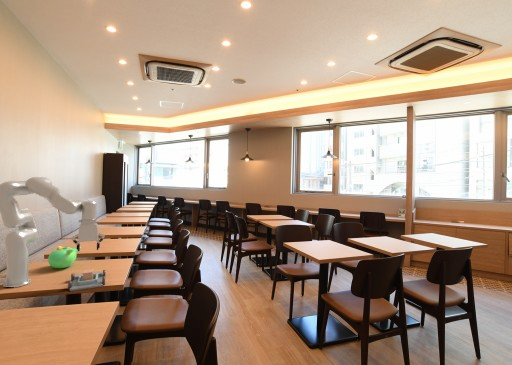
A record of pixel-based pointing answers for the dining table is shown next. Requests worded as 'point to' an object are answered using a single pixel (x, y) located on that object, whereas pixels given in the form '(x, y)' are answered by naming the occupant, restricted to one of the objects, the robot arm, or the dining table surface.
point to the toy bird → (62, 257)
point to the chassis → (80, 284)
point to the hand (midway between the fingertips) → (88, 250)
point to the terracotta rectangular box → (87, 274)
